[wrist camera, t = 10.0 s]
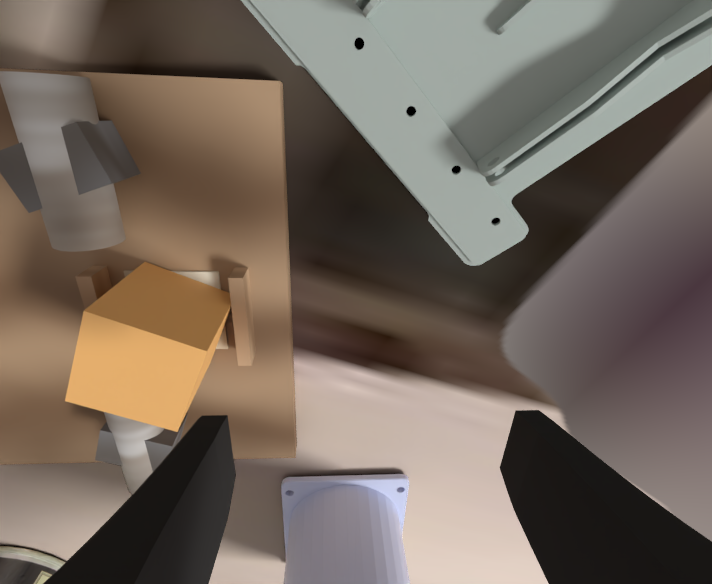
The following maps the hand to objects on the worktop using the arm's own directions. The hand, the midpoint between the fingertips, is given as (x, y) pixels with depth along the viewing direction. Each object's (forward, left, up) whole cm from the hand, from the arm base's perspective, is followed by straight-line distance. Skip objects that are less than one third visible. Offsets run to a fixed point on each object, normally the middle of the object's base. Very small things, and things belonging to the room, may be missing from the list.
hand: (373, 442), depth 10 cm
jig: (-1, +12, -10) cm, 16 cm away
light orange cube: (-1, +8, -9) cm, 12 cm away
